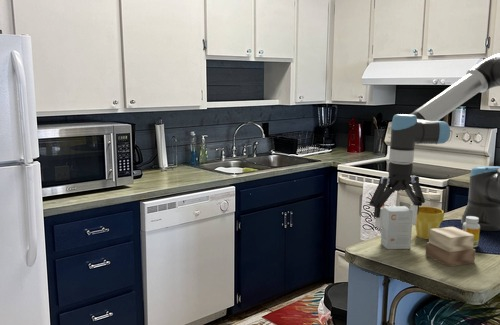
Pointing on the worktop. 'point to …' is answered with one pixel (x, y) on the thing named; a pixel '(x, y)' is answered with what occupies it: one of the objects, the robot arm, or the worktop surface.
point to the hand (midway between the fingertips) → (395, 225)
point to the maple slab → (451, 239)
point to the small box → (396, 227)
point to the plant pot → (428, 220)
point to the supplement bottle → (472, 228)
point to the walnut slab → (450, 255)
